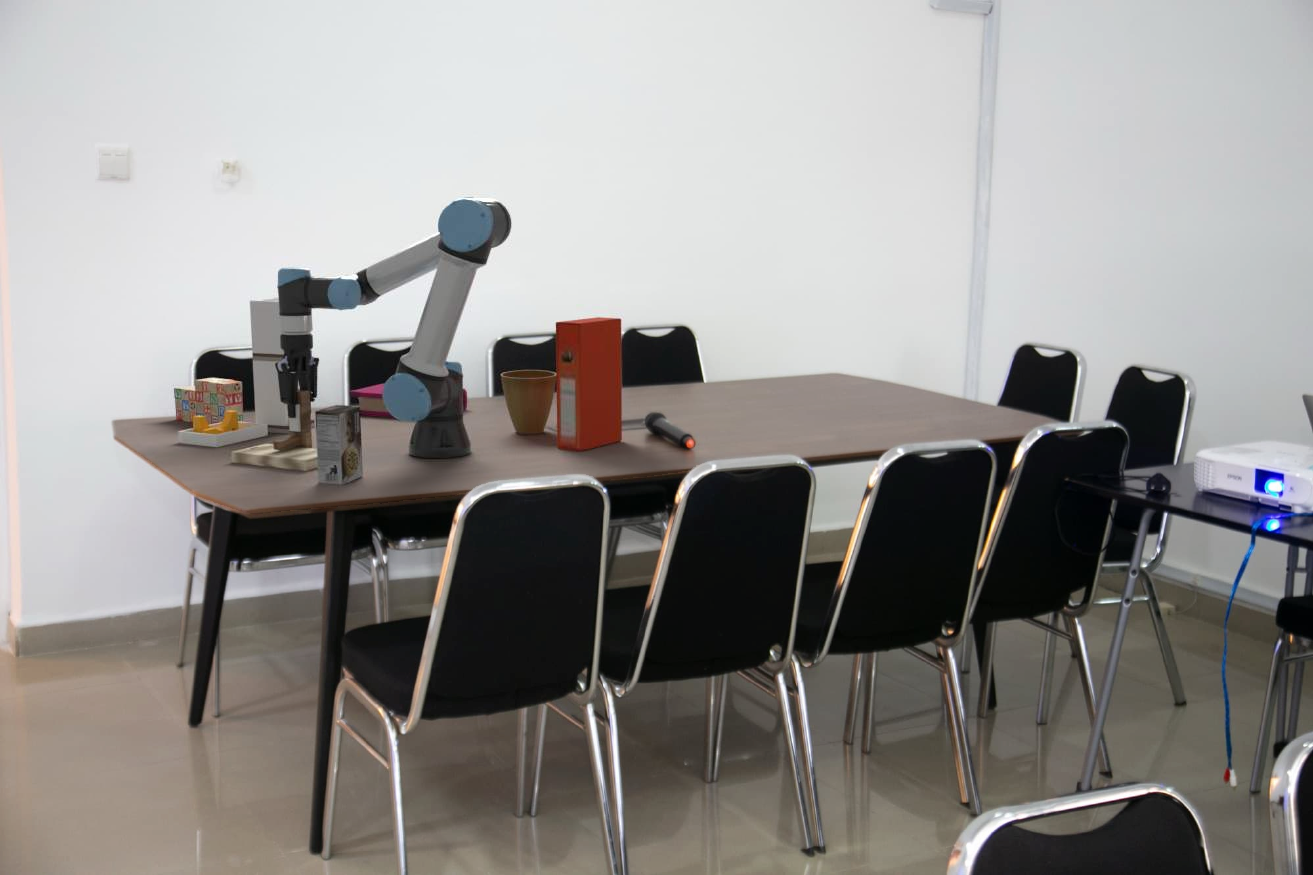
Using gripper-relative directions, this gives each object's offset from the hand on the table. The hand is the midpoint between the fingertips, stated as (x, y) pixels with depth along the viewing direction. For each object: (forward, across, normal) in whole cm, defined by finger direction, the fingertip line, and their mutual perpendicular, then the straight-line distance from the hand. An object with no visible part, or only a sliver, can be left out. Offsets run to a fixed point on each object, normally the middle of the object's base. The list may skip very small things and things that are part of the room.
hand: (300, 429), depth 309 cm
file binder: (+7, -45, +55) cm, 72 cm away
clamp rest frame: (+7, -9, -32) cm, 34 cm away
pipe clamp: (+7, -10, -35) cm, 37 cm away
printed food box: (+7, +17, +25) cm, 32 cm away
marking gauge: (+6, +4, 0) cm, 7 cm away
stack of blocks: (+7, -27, -55) cm, 61 cm away
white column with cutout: (+7, -28, -28) cm, 40 cm away
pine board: (+7, +7, +1) cm, 10 cm away
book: (+7, -67, -16) cm, 70 cm away
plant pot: (+7, -54, +32) cm, 63 cm away
